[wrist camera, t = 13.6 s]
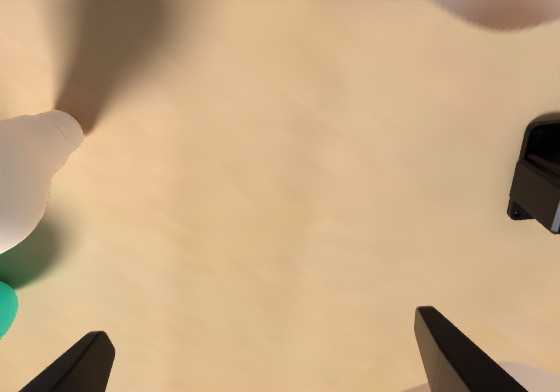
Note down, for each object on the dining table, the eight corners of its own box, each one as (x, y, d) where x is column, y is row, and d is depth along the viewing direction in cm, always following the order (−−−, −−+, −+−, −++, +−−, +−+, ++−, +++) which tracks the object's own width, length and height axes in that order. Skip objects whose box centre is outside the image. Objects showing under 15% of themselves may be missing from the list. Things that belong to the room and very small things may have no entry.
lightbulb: (106, 187, 22) (-30, 322, 13) (10, 144, 21) (-221, 259, 12) (133, 107, 20) (-15, 203, 10) (24, 53, 18) (-262, 104, 9)
